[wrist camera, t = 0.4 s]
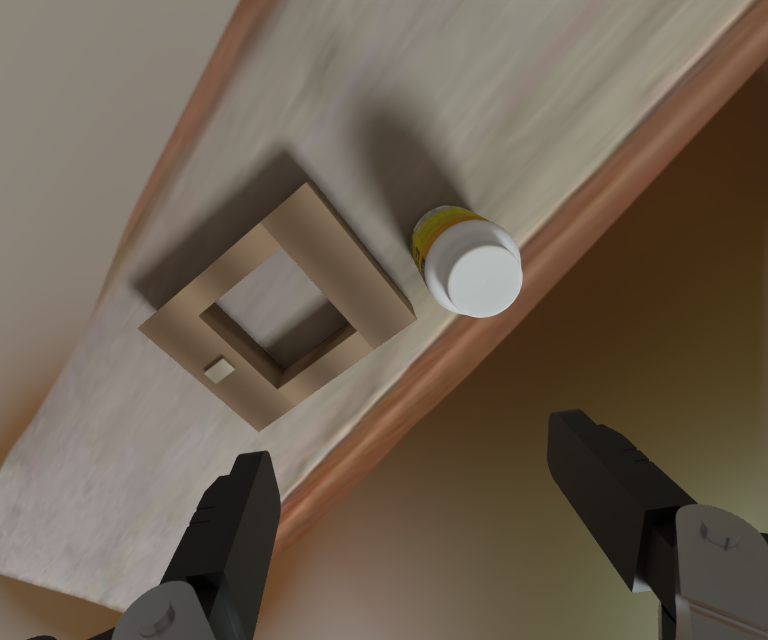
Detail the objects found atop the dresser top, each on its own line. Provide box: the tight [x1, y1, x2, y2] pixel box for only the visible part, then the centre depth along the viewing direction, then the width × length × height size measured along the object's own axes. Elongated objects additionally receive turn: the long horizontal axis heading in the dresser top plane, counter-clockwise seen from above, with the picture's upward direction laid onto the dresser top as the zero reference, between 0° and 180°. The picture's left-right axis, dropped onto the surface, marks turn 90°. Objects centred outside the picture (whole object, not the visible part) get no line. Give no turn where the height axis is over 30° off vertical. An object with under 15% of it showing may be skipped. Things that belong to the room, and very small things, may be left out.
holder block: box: [138, 180, 416, 432], centre depth 29 cm, size 16×12×3 cm
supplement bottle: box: [410, 205, 522, 318], centre depth 24 cm, size 6×6×10 cm
